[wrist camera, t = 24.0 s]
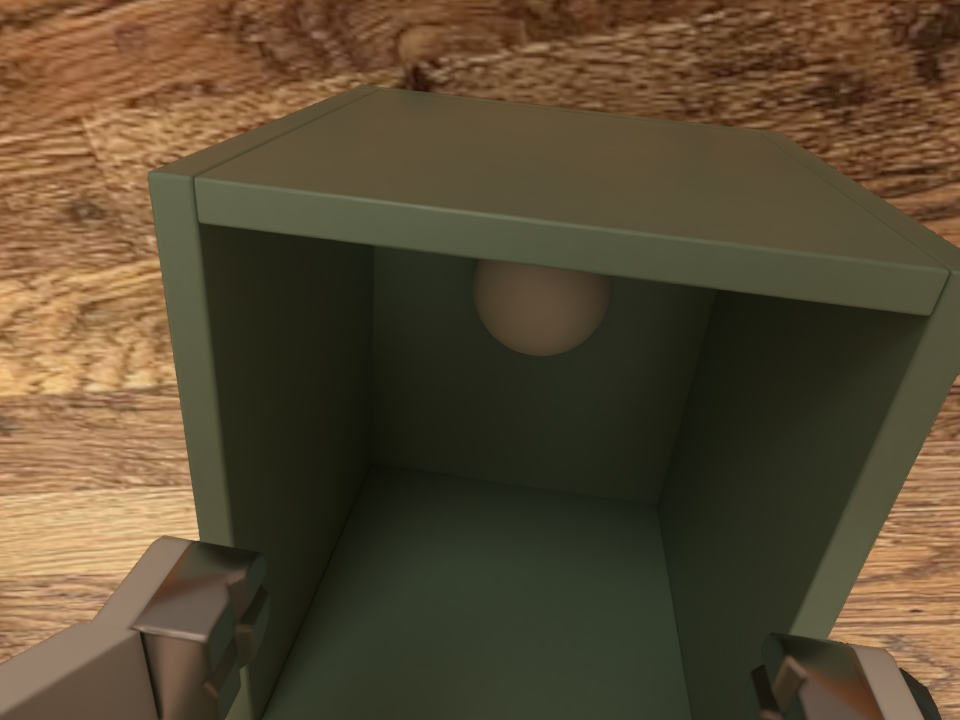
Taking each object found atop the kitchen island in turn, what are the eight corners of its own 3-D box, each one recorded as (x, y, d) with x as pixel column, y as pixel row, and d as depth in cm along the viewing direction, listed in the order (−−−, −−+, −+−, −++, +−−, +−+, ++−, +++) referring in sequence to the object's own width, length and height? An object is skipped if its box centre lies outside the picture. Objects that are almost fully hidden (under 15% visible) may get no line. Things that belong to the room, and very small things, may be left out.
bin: (359, 84, 22) (143, 171, 11) (780, 131, 21) (1008, 277, 10) (358, 464, 30) (228, 745, 19) (670, 510, 29) (731, 835, 18)
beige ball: (487, 193, 23) (469, 232, 19) (619, 209, 22) (628, 252, 19) (476, 313, 25) (457, 370, 21) (596, 329, 24) (600, 390, 21)
